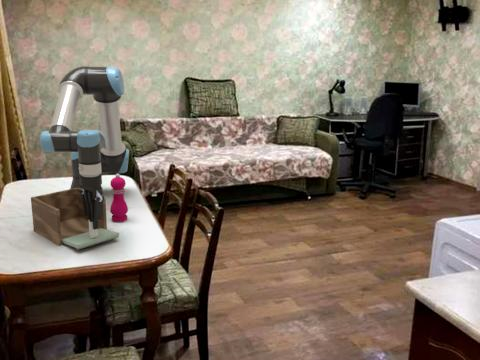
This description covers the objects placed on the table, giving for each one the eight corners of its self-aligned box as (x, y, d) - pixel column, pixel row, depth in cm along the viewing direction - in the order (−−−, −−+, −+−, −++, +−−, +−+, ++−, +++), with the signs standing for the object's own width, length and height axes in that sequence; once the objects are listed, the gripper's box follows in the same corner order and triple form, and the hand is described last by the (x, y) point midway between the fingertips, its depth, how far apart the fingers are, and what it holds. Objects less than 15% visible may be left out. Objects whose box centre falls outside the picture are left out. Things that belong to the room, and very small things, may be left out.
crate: (80, 218, 204) (78, 187, 201) (107, 231, 191) (105, 198, 188) (33, 230, 190) (30, 197, 187) (58, 245, 177) (56, 210, 174)
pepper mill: (107, 219, 204) (104, 173, 199) (121, 215, 209) (120, 170, 204) (116, 224, 200) (115, 177, 194) (131, 219, 205) (130, 173, 199)
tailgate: (101, 228, 191) (118, 232, 183) (102, 232, 191) (119, 237, 183) (61, 239, 179) (77, 245, 171) (61, 244, 179) (78, 250, 171)
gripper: (71, 172, 174) (75, 234, 180) (90, 180, 165) (94, 244, 172) (90, 169, 179) (93, 229, 186) (110, 176, 171) (113, 238, 177)
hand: (94, 236), depth 179 cm, fingers closed
